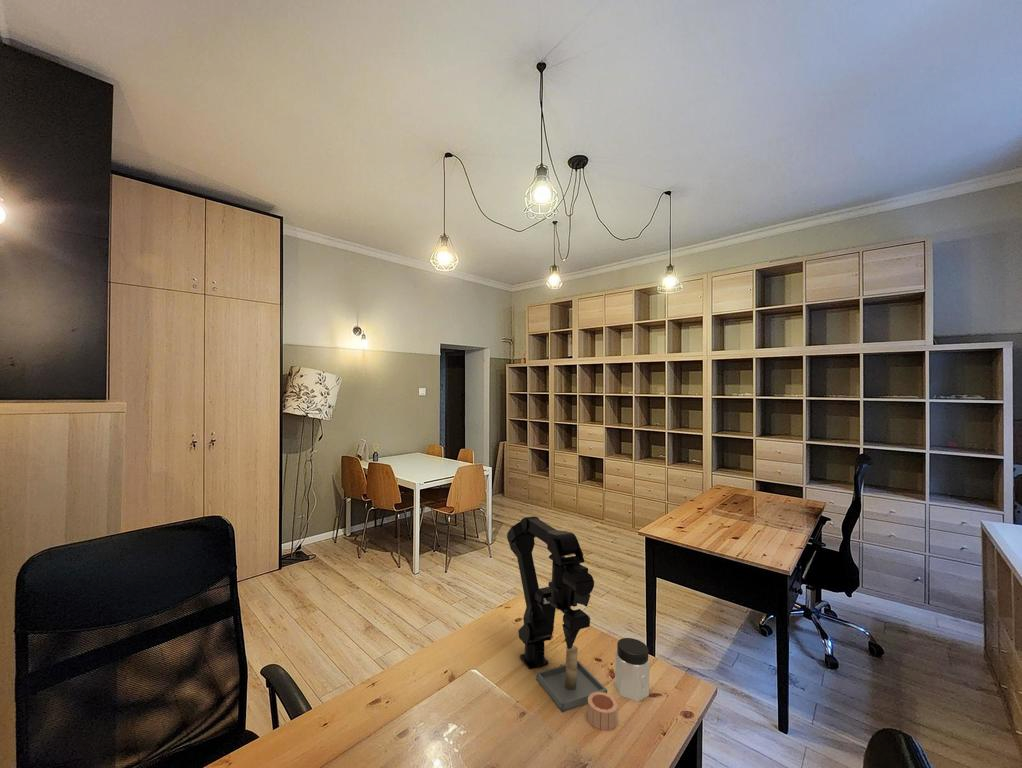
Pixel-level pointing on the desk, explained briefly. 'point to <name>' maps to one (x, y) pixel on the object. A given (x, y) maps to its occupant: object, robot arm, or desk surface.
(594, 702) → the cup
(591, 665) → the desk surface
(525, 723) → the desk surface
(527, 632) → the robot arm
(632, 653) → the jar
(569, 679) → the dowel
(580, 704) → the tray
